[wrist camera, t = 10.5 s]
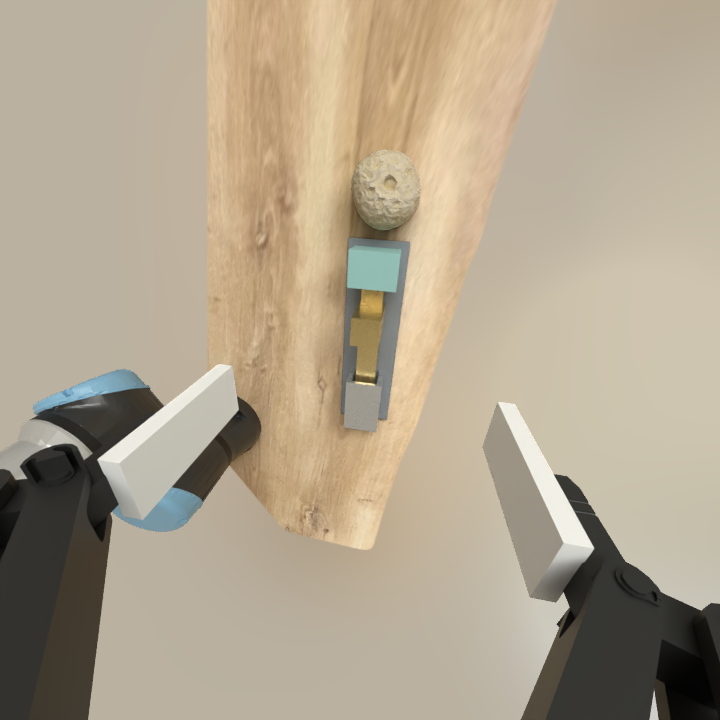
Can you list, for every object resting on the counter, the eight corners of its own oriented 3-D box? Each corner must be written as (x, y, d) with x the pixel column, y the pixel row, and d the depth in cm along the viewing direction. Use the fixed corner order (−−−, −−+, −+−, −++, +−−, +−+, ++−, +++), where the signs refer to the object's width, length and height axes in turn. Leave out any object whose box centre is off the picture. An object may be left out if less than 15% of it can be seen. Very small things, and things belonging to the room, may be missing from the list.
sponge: (403, 158, 42) (366, 108, 34) (446, 196, 39) (417, 151, 30) (361, 214, 46) (319, 181, 38) (397, 253, 43) (359, 227, 34)
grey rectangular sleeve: (349, 410, 57) (343, 427, 53) (351, 367, 53) (346, 382, 48) (378, 414, 57) (376, 432, 52) (383, 371, 52) (381, 386, 48)
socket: (353, 279, 46) (346, 287, 41) (355, 245, 44) (348, 249, 39) (397, 283, 45) (395, 292, 40) (401, 249, 43) (400, 253, 38)
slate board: (341, 410, 58) (340, 413, 58) (349, 236, 44) (348, 237, 43) (386, 417, 58) (386, 419, 57) (410, 242, 43) (410, 242, 42)
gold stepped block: (355, 376, 53) (346, 404, 45) (363, 260, 44) (353, 271, 36) (377, 379, 53) (372, 408, 45) (390, 263, 44) (385, 274, 36)
